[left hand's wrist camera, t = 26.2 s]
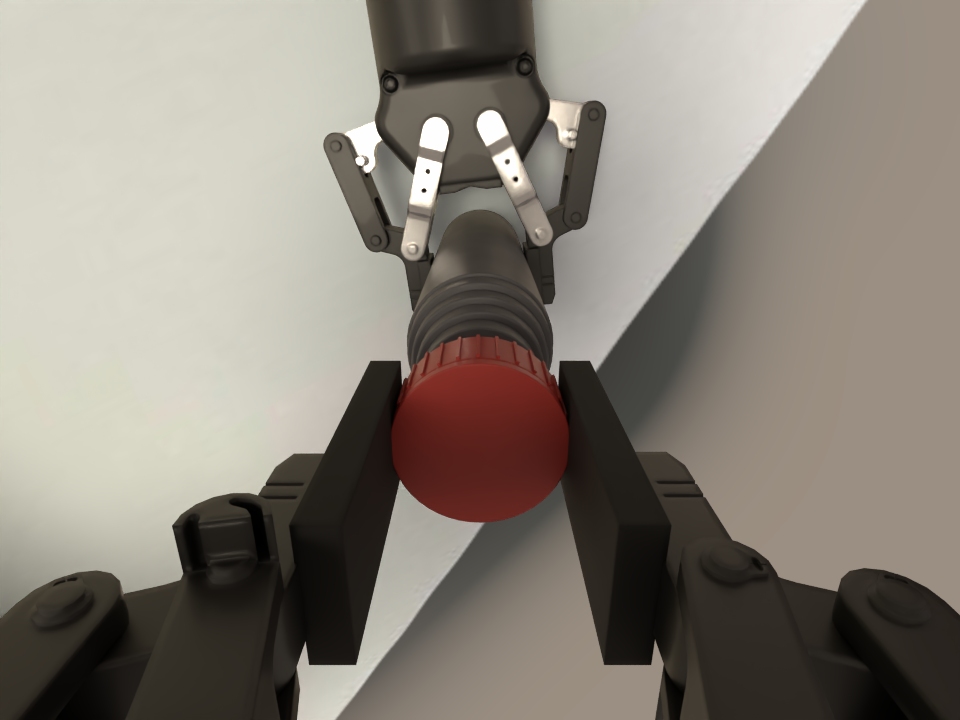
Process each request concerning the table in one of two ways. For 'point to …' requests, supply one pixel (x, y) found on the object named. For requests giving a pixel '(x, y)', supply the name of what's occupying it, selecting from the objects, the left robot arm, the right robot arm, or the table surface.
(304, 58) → the table surface
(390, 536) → the table surface
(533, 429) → the cap
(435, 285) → the bottle
